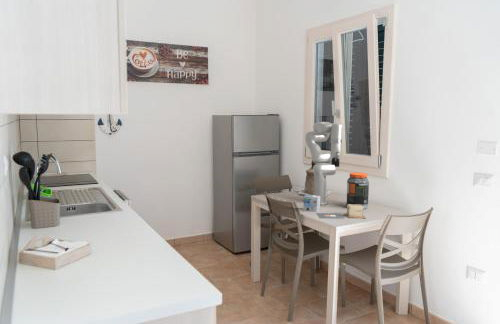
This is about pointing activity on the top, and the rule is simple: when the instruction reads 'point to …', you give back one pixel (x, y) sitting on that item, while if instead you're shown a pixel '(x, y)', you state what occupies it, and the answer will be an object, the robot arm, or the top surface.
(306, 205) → the light bulb box
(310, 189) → the burlap sack
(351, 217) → the walnut pad
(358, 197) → the supplement tub
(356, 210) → the birch block
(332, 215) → the mat
